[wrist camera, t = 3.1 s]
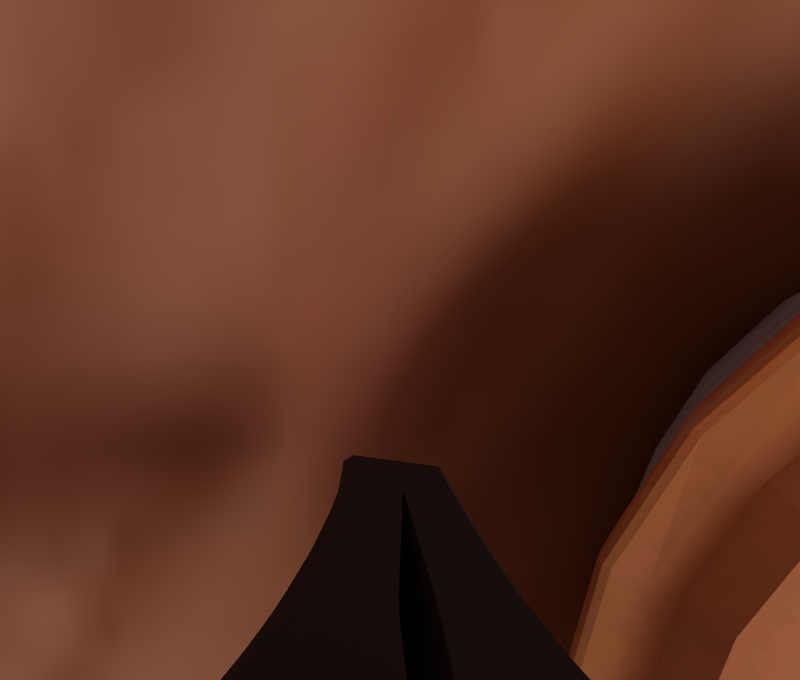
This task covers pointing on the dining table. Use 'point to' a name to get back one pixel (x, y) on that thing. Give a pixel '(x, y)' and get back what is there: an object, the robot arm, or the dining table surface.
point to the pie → (710, 532)
